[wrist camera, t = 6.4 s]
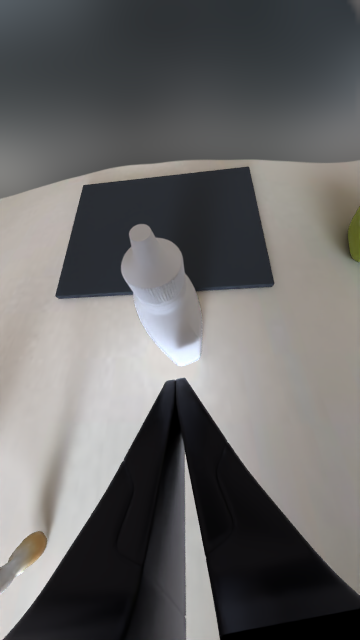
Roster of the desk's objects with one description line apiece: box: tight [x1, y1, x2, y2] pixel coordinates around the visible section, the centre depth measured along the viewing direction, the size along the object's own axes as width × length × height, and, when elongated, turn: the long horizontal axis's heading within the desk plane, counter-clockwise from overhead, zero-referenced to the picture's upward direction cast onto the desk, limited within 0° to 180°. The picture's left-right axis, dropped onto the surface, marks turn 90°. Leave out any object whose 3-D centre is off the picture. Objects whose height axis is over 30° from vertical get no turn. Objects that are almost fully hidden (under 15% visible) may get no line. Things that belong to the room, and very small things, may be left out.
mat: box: [55, 167, 274, 299], centre depth 21 cm, size 17×22×1 cm
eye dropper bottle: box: [121, 224, 202, 366], centre depth 11 cm, size 4×6×12 cm
